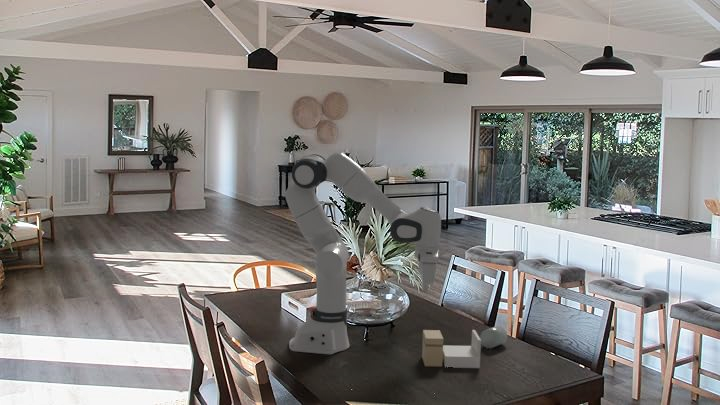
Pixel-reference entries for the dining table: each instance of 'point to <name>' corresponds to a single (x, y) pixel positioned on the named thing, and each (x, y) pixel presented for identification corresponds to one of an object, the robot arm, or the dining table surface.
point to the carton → (432, 348)
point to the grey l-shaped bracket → (463, 354)
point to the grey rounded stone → (493, 337)
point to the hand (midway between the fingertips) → (424, 290)
